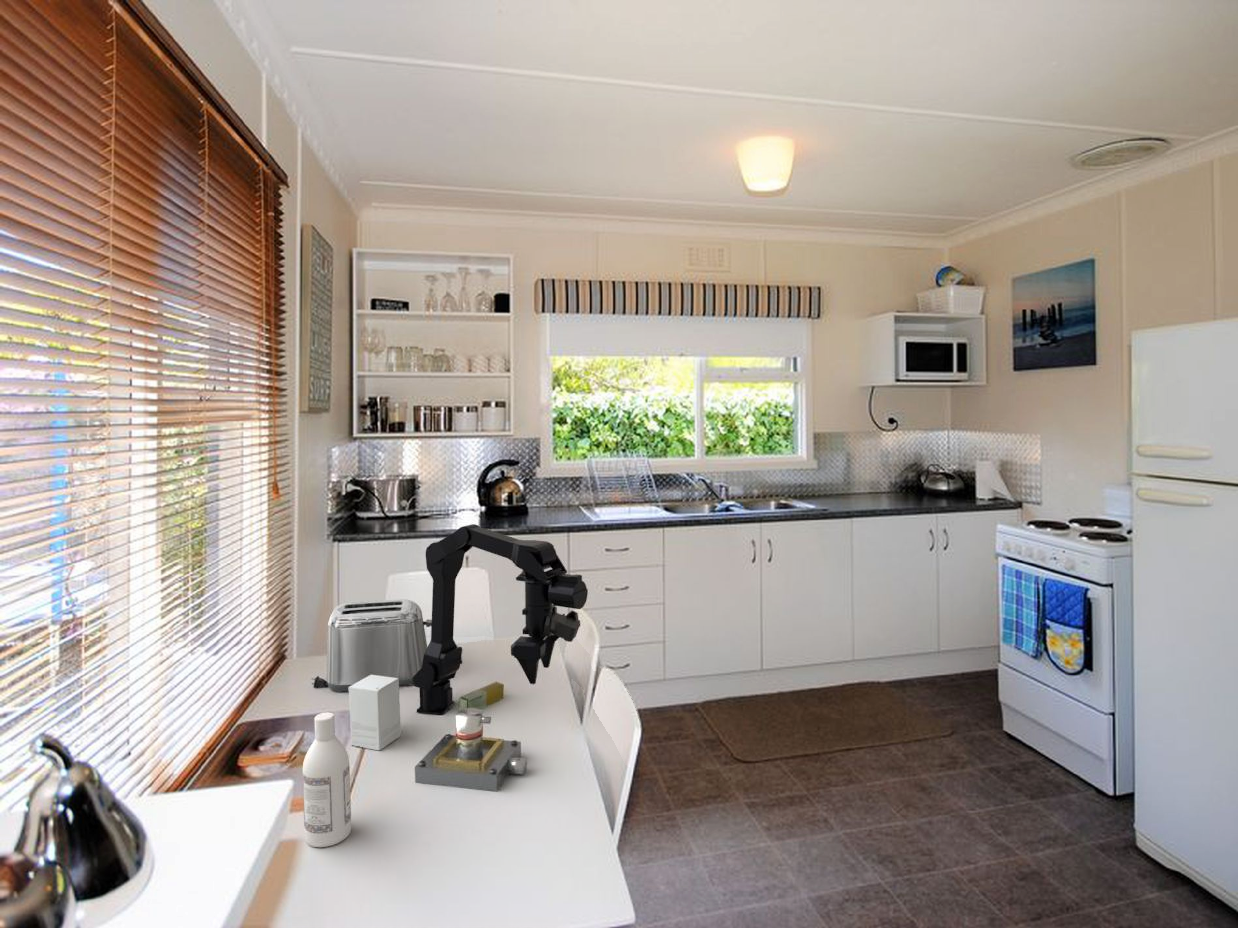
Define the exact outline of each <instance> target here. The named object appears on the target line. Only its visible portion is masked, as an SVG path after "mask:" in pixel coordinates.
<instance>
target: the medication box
mask: <svg viewBox="0 0 1238 928" xmlns="http://www.w3.org/2000/svg"><path fill="white" fill-rule="evenodd" d="M504 691H505V690H504V683H501V682H499V681H495V682H491V683H490V684H488V685H486V686H483V687H481V688H479V689H476V690H474V691H472V692H469V693H467V694H465V695H462V696H459V698H458V700H459V706H458V709H459V710H462V709H465V708H478V709H480V710H482V709H484V708H486V707H488V706H492V704H495V703H496V702H499V701H501V700H503V699H504ZM459 710H458V711H459Z"/></svg>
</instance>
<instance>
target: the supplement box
mask: <svg viewBox="0 0 1238 928" xmlns="http://www.w3.org/2000/svg"><path fill="white" fill-rule="evenodd" d="M348 688H349V691H348V704H349V707H348V708H349V728H350V745H357V746H360V747H359V748H362V747H363V749H369V750H374V751H375V750H376V751H381V750H382V749H384V748H385V747H387V746H388V745H389V744H392V742H394V741H395V740H396V739H398V738H399V737H401V735H402V731H401V708H400V707H401V704H400V684H399V678H393V677H385V676H378V675H370V676H368V677H366V678H364V679H362V680H360V681H359V682H357V683H355V684H353V685H352V686H350V687H348Z"/></svg>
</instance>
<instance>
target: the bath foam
mask: <svg viewBox="0 0 1238 928" xmlns="http://www.w3.org/2000/svg"><path fill="white" fill-rule="evenodd" d="M335 722H336V721H335V714H334V713H332V712H328V711H327V712H321V713H319V714H316V716H315V717H314V741H313V742H312V743H311V745H310V747H309V748H308V750H307V752H306V754H305V756H304V758H303V763H302V770H301V771H302V774H301V775H302V797H303V798H302V799H303V824H304V826H303V827H304V839H305V842H306V844H308V845H309V846H310V847H315V848H325V847H326V848H327V847H330V846H334V845H337V844H339V843H341V842H342V841H344V840H345V839H346V838H347V837H348V836H349V835H350V833H351V830H352V807H351V806H352V804H351V776H350V775H351V773H350V769H351V768H350V760H349V759H350V758H349V754H348V751H347V749H346V747H345V746H344V744H343V743H342V742H341V740H339V738H338V737H337V736H336V735H335V734H336V730H335V729H336V727H335V726H336V725H335V724H336V723H335Z"/></svg>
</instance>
